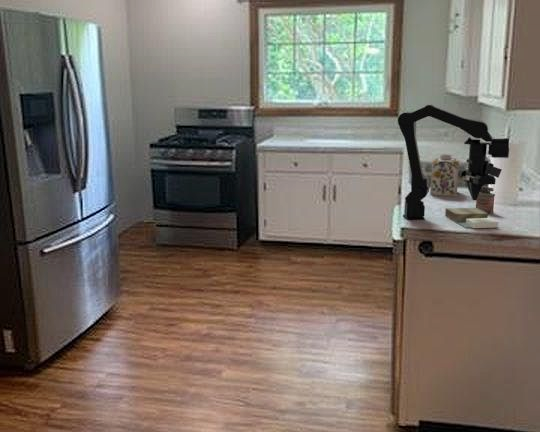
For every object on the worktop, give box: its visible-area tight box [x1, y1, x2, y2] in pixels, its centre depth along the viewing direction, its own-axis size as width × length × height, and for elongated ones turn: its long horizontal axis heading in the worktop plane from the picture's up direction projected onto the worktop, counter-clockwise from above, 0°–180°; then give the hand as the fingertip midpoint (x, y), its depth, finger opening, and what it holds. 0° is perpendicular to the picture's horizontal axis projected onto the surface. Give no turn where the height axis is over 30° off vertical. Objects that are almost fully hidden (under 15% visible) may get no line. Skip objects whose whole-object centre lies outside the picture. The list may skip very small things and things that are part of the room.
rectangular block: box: [466, 217, 499, 229], centre depth 206 cm, size 9×6×2 cm, turn 96°
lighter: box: [475, 185, 496, 215], centre depth 229 cm, size 8×3×10 cm, turn 31°
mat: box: [454, 221, 499, 229], centre depth 209 cm, size 12×9×1 cm
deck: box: [444, 207, 489, 223], centre depth 218 cm, size 12×10×3 cm
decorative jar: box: [429, 153, 460, 197], centre depth 265 cm, size 12×12×18 cm
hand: (474, 200), depth 211 cm, fingers closed
